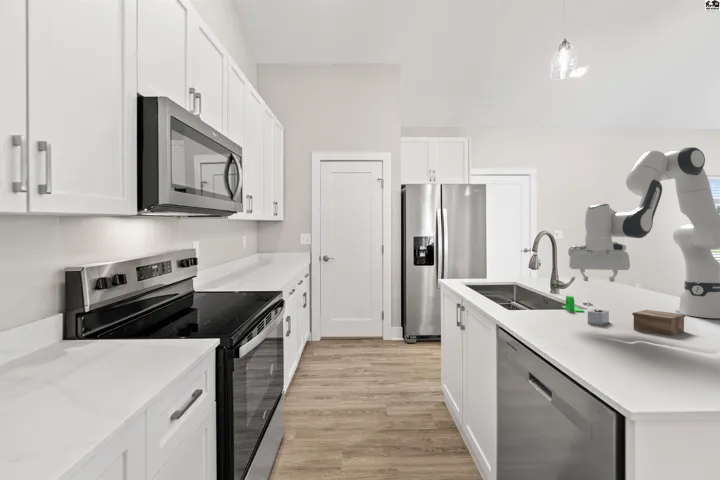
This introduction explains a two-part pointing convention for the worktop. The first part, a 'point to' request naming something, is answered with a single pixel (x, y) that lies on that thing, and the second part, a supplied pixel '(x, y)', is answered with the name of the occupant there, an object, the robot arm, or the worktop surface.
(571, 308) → the mechanical part
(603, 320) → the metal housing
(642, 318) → the walnut stand
